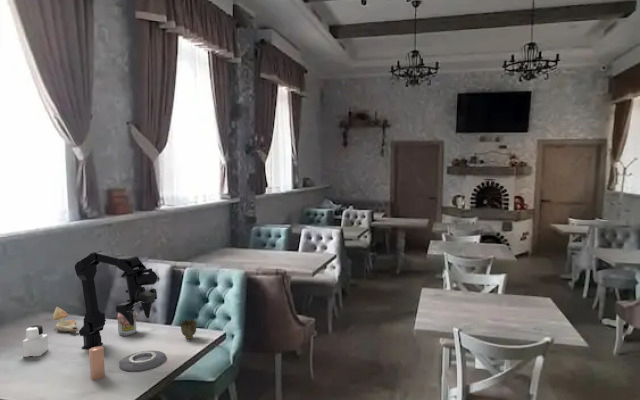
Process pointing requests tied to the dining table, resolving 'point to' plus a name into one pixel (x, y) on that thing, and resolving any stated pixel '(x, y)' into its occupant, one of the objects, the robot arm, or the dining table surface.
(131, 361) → the metal collar
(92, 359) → the terracotta peg
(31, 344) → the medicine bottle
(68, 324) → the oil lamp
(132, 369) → the charcoal plate
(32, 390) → the dining table surface
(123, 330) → the decorated jar
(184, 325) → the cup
